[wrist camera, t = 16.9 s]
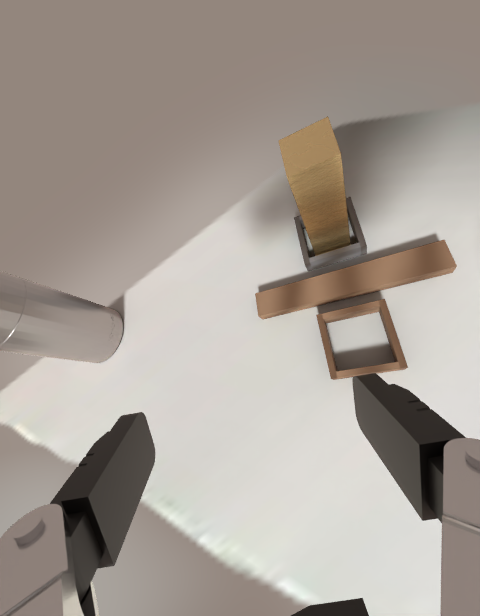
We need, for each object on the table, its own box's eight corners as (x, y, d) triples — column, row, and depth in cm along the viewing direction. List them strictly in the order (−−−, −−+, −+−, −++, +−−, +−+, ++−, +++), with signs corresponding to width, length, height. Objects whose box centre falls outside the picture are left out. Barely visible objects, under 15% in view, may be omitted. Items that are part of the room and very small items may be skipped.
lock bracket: (273, 388, 30) (267, 388, 28) (251, 243, 37) (245, 235, 35) (490, 356, 23) (500, 353, 21) (412, 185, 30) (415, 172, 28)
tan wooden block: (316, 258, 32) (286, 176, 20) (309, 231, 34) (278, 140, 22) (350, 247, 31) (340, 153, 19) (342, 220, 33) (327, 116, 20)
